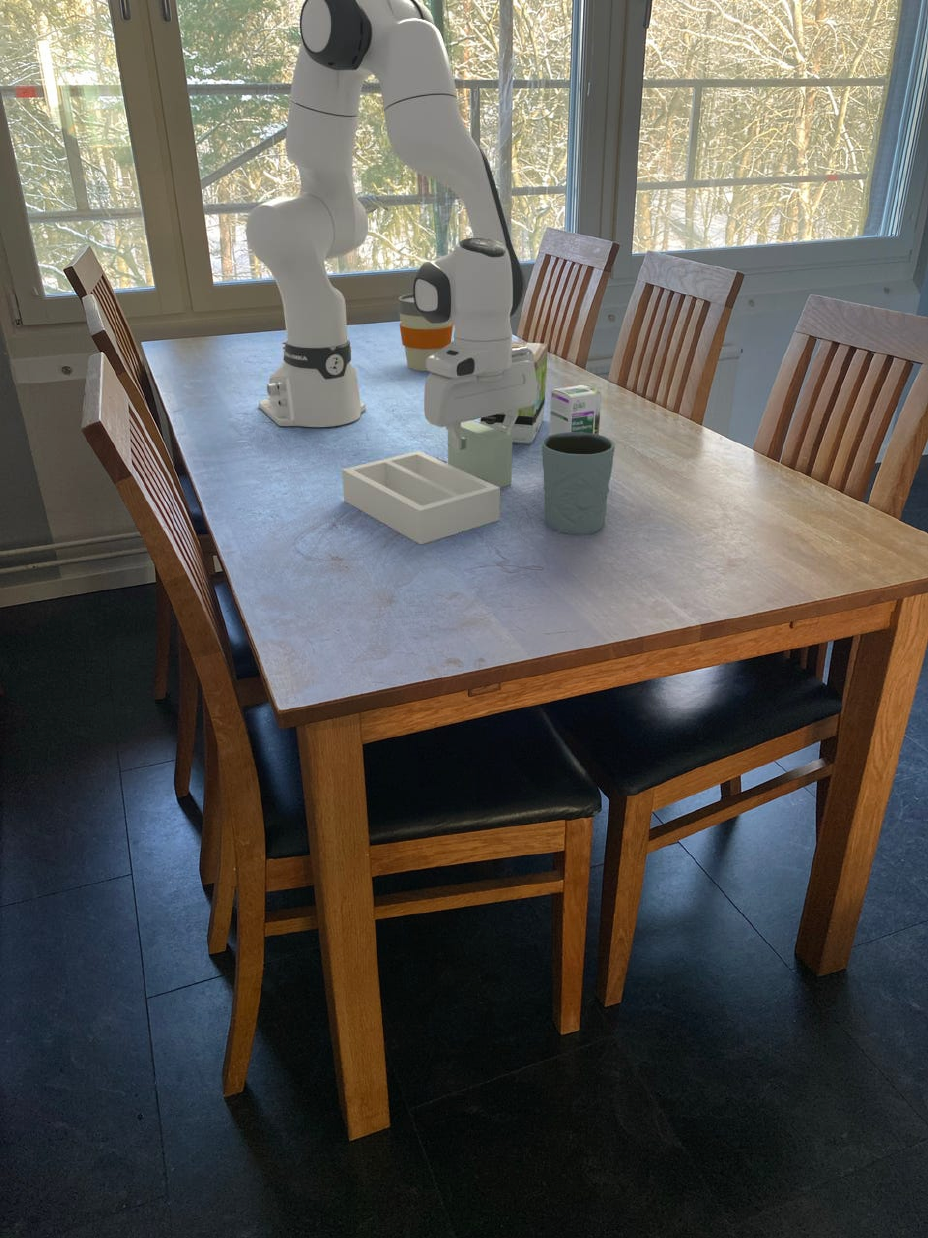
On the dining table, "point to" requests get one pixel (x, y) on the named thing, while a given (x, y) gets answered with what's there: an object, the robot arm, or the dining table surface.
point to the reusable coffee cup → (420, 334)
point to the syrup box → (575, 410)
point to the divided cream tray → (421, 496)
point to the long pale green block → (483, 453)
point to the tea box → (530, 415)
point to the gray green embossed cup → (576, 481)
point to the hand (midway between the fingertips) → (482, 442)
